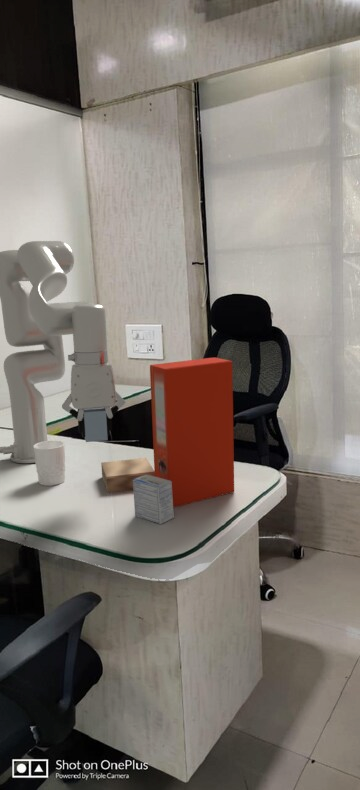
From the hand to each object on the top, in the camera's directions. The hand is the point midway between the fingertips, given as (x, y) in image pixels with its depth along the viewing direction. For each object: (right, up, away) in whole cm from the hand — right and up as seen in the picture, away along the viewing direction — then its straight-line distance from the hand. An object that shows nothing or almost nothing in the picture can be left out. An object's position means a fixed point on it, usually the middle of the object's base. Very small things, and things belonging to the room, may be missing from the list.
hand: (95, 434), depth 144 cm
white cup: (-14, -14, +16) cm, 25 cm away
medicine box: (+14, -18, -10) cm, 25 cm away
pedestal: (+7, -13, +13) cm, 20 cm away
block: (0, -1, 0) cm, 1 cm away
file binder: (+24, -15, +2) cm, 28 cm away
